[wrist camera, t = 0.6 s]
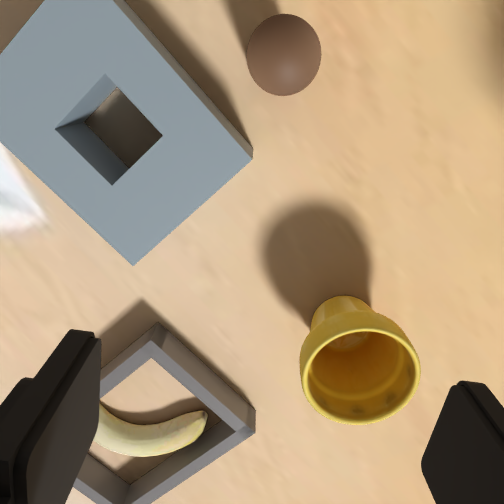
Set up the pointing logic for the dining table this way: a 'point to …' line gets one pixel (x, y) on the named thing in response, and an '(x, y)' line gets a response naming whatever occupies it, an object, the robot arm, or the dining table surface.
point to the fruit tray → (191, 456)
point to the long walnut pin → (283, 54)
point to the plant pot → (357, 363)
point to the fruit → (148, 434)
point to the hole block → (89, 144)
